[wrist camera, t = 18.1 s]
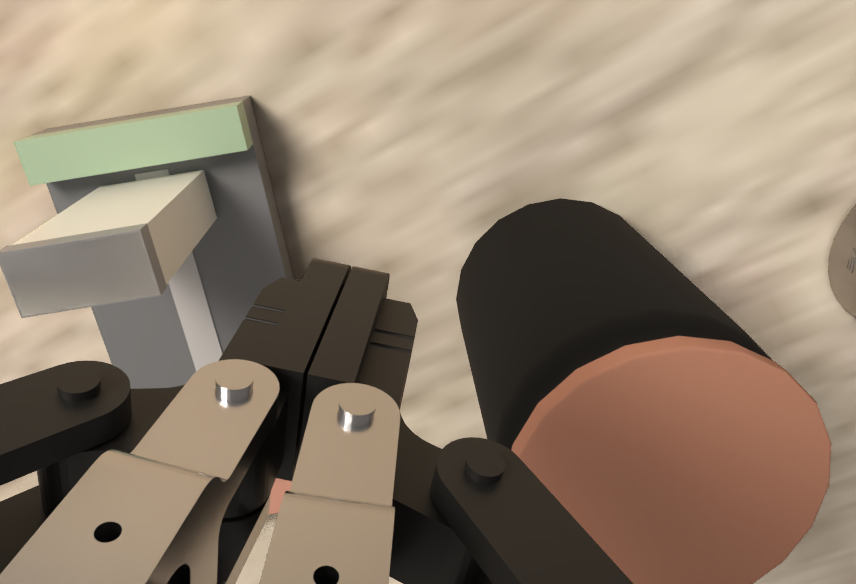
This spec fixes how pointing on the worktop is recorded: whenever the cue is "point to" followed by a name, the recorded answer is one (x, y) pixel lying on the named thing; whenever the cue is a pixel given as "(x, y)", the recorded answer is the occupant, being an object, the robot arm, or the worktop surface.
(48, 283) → the handle
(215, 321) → the plate
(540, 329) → the coffee jar
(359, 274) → the robot arm
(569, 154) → the worktop surface
